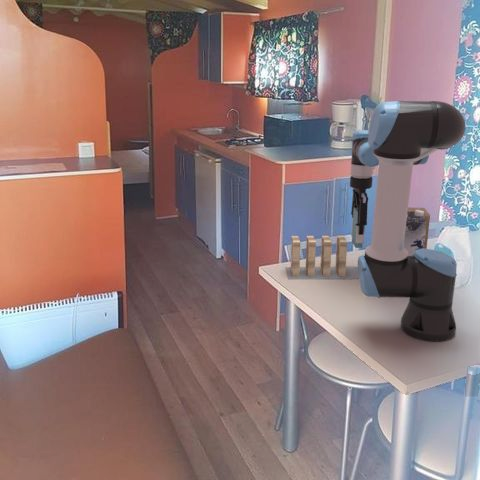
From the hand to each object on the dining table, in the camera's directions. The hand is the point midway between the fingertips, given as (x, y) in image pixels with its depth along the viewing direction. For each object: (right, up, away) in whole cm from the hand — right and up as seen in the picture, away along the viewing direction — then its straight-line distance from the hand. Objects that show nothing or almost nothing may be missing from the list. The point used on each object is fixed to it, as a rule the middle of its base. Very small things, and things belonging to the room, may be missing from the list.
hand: (357, 239), depth 200 cm
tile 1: (-22, -12, +4) cm, 25 cm away
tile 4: (-5, -12, +4) cm, 14 cm away
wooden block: (+24, -8, +18) cm, 31 cm away
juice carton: (+15, -16, -7) cm, 23 cm away
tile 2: (-16, -12, +4) cm, 21 cm away
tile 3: (-11, -12, +4) cm, 17 cm away
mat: (-9, -13, +4) cm, 16 cm away
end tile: (0, -2, +1) cm, 2 cm away
